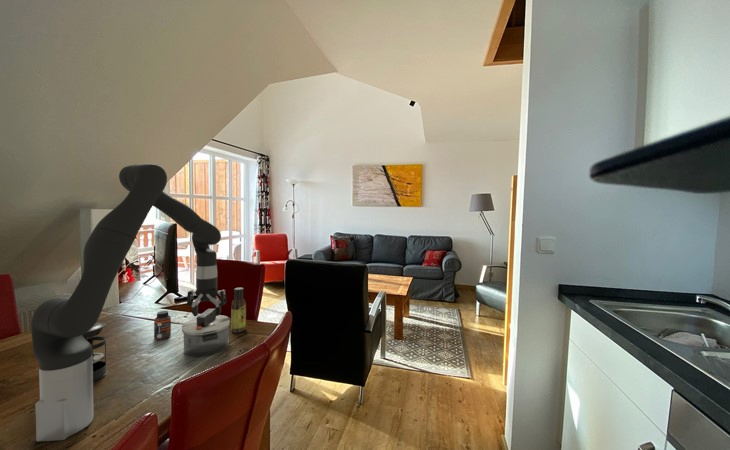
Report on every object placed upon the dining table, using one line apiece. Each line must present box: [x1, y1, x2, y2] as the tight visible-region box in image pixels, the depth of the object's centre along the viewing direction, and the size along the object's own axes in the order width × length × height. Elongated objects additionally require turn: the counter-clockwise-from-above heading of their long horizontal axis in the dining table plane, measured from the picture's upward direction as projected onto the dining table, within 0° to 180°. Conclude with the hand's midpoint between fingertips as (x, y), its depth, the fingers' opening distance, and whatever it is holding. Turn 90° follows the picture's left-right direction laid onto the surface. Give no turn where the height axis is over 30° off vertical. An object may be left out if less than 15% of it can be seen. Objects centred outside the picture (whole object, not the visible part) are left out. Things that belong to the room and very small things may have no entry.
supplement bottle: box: [153, 310, 172, 341], centre depth 122 cm, size 6×6×11 cm
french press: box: [82, 321, 109, 383], centre depth 91 cm, size 12×9×23 cm
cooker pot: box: [182, 322, 231, 358], centre depth 114 cm, size 22×17×9 cm
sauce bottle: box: [230, 287, 247, 333], centre depth 131 cm, size 6×6×20 cm
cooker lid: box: [181, 308, 231, 334], centre depth 114 cm, size 17×17×5 cm
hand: (206, 315), depth 114 cm, fingers open, 8 cm apart
